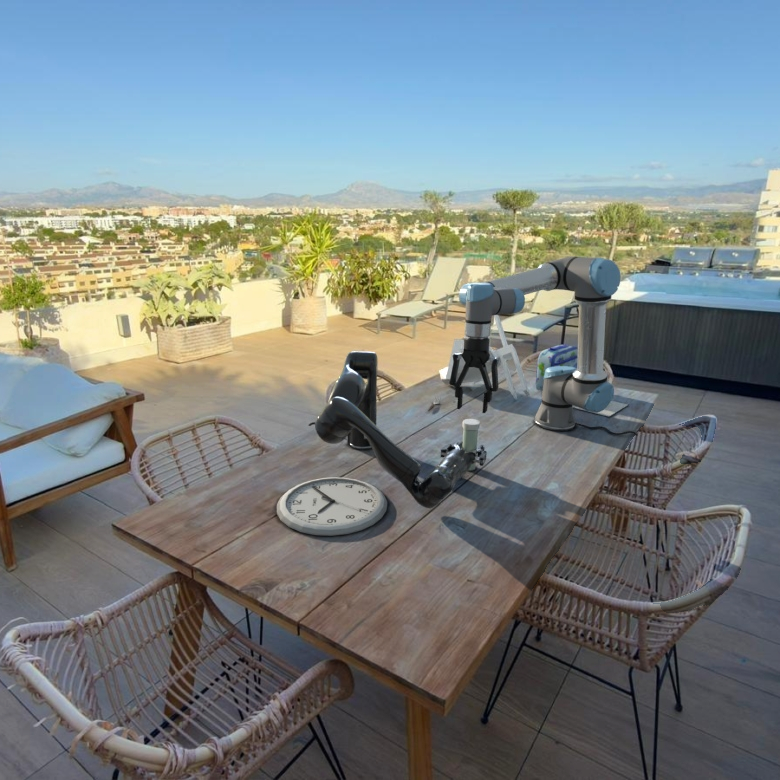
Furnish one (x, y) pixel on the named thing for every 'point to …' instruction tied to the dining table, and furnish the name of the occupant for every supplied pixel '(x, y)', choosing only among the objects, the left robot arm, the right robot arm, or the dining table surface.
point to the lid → (471, 424)
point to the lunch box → (555, 360)
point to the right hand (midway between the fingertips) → (472, 409)
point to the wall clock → (331, 506)
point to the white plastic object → (487, 363)
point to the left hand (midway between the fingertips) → (471, 445)
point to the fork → (434, 403)
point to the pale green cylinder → (470, 442)
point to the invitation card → (609, 408)
